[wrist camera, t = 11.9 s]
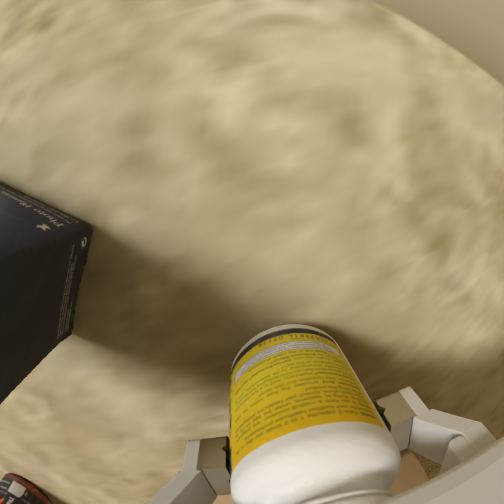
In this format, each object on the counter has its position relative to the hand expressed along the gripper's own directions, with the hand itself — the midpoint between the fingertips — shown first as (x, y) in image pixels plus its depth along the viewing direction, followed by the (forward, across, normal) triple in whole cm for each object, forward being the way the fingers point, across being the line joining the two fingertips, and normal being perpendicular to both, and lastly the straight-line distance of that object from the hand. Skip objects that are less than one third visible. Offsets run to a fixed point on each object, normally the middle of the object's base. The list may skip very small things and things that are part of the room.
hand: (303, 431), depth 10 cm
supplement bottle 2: (+4, 0, 0) cm, 4 cm away
